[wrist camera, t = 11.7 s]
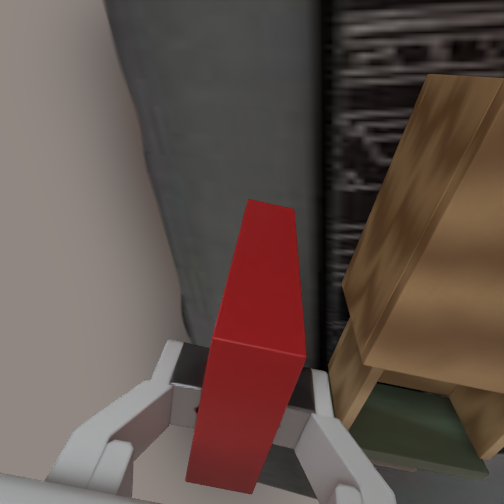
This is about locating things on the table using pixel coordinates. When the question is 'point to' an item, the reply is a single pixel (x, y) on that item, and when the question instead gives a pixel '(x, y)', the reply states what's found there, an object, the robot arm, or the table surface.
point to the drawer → (414, 416)
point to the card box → (251, 353)
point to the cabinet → (438, 242)
